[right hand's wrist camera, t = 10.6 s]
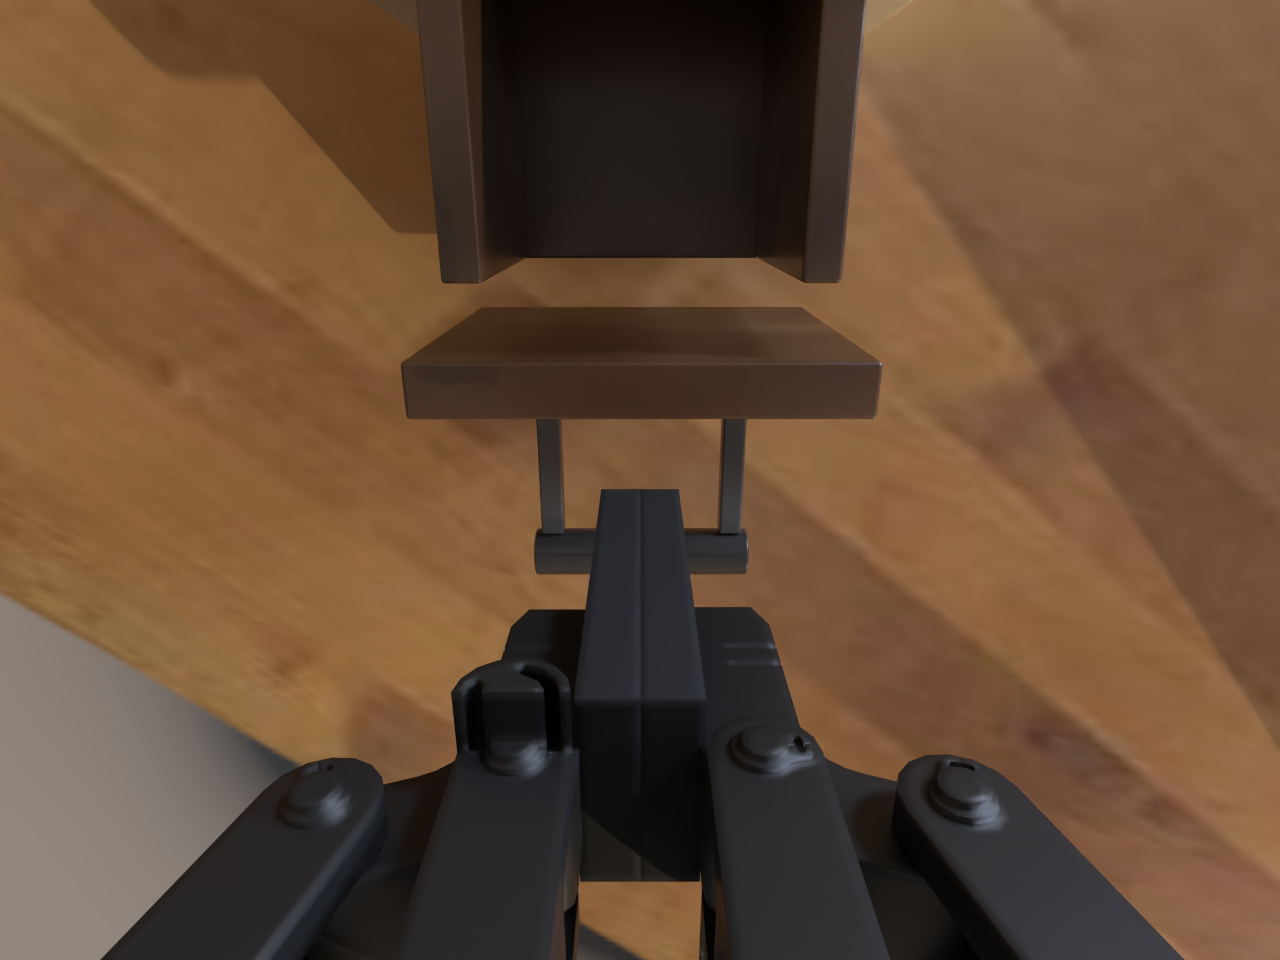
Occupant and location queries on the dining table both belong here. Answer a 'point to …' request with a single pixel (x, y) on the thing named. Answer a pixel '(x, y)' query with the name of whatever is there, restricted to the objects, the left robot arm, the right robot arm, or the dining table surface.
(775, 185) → the drawer
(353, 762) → the right robot arm
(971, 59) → the dining table surface
